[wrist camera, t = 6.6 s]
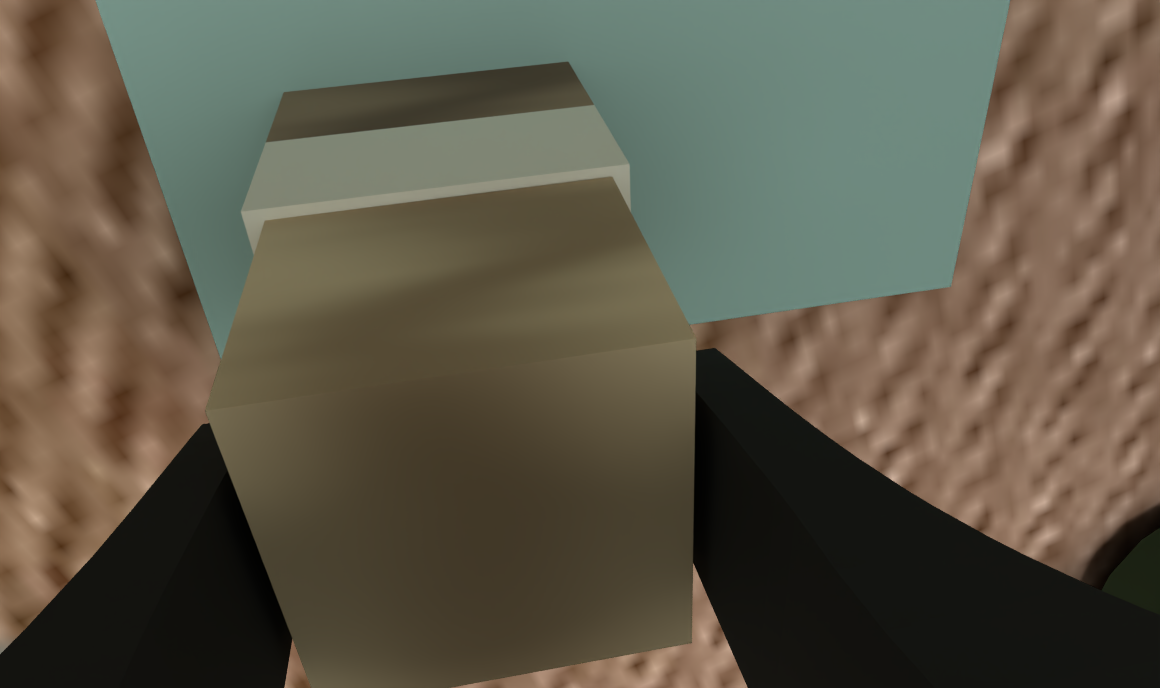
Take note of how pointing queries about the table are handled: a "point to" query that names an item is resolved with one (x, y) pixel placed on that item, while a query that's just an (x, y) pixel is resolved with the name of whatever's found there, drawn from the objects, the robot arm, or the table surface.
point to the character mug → (1139, 575)
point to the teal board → (618, 123)
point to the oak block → (464, 436)
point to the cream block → (431, 163)
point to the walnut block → (426, 100)
